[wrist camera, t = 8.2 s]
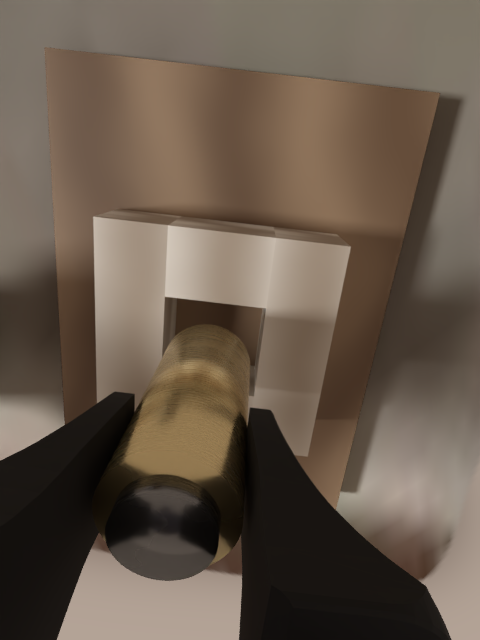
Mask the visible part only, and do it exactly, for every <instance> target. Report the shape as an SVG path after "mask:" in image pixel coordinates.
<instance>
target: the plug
mask: <svg viewBox="0 0 480 640" xmlns="http://www.w3.org/2000/svg"><path fill="white" fill-rule="evenodd" d="M249 380H250V358H249V354H248V352H247V349H246V347H245V346H244V344H243V343H242V341H241V340H240V339H239V338H238V337H237V336H236V335H234V334H233V333H232V332H230V331H229V330H227V329H224V328H222V327H219V326H215V325H207V324H203V325H195V326H192V327H189V328H186V329H184V330H182V331H181V332H179V333H178V334H177V335H176V336H175V337H174V338H173V339H172V340H171V342H170V343H169V345H168V347H167V349H166V351H165V353H164V355H163V357H162V359H161V361H160V363H159V365H158V367H157V369H156V371H155V373H154V375H153V377H152V379H151V381H150V383H149V385H148V387H147V389H146V390H145V392H144V394H143V396H142V398H141V400H140V402H139V404H138V406H137V408H136V410H135V412H134V414H133V416H132V418H131V420H130V422H129V424H128V426H127V428H126V430H125V432H124V434H123V436H122V438H121V440H120V442H119V444H118V446H117V448H116V450H115V452H114V454H113V456H112V458H111V460H110V462H109V464H108V466H107V468H106V470H105V472H104V474H103V476H102V478H101V480H100V482H99V484H98V486H97V488H96V490H95V493H94V496H93V500H92V512H93V518H94V522H95V524H96V527H97V529H98V531H99V533H100V534H101V536H102V537H103V539H104V540H105V541H106V543H107V546H108V548H109V550H110V552H111V553H112V555H113V556H114V557H115V558H116V560H117V561H118V562H120V564H122V565H123V566H124V567H126V568H127V569H129V570H130V571H132V572H134V573H136V574H139V575H141V576H144V577H147V578H151V579H156V580H165V581H171V580H181V579H185V578H189V577H192V576H194V575H196V574H198V573H200V572H202V571H203V570H204V569H206V568H207V567H208V566H209V565H211V564H213V563H215V562H217V561H218V560H220V559H221V558H223V557H224V556H225V555H227V554H228V553H229V552H230V551H231V550H232V548H233V547H234V546H235V544H236V543H237V541H238V540H239V537H240V535H241V532H242V528H243V515H244V492H245V470H246V442H247V425H248V403H249Z"/></svg>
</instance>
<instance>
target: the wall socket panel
mask: <svg viewBox="0 0 480 640" xmlns="http://www.w3.org/2000/svg"><path fill="white" fill-rule="evenodd" d="M45 65H46V84H47V102H48V121H49V139H50V158H51V177H52V195H53V214H54V232H55V251H56V269H57V288H58V307H59V325H60V344H61V362H62V381H63V400H64V418H65V425H66V424H67V423H69V422H71V421H72V420H73V419H75V418H76V417H78V416H79V415H81V414H82V413H84V412H85V411H87V410H88V409H90V408H91V407H93V406H94V405H96V404H97V403H98V402H100V401H101V400H103V399H104V398H106V397H107V396H108V395H110V394H111V393H113V392H124V393H132V394H135V410H136V408H137V406H138V404H139V402H140V400H141V398H142V396H143V394H144V392H145V390H146V389H147V387H148V385H149V383H150V381H151V379H152V377H153V375H154V373H155V371H156V369H157V367H158V365H159V363H160V361H161V359H162V357H163V355H164V353H165V351H166V349H167V347H168V345H169V343H170V342H171V340H172V339H173V338H174V337H175V336H176V335H177V334H178V333H179V332H181V331H182V330H184V329H186V328H189V327H192V326H195V325H203V324H207V325H215V326H219V327H222V328H224V329H227V330H229V331H230V332H232V333H233V334H234V335H236V336H237V337H238V338H239V339H240V340H241V341H242V343H243V344H244V346H245V347H246V349H247V352H248V354H249V358H250V380H249V403H248V418H249V411H250V407H251V408H260V409H268V410H271V411H272V412H273V414H274V417H275V419H276V421H277V424H278V426H279V428H280V430H281V432H282V434H283V436H284V438H285V440H286V441H287V443H288V445H289V447H290V448H291V450H292V452H293V453H294V455H295V457H296V459H297V460H298V462H299V463H300V465H301V466H302V468H303V469H304V471H305V472H306V474H307V475H308V477H309V478H310V479H311V481H312V482H313V483H314V485H315V486H316V487H317V489H318V490H319V491H320V493H321V494H322V495H323V496H324V497H325V499H326V500H327V501H328V502H329V503H330V505H331V506H332V507H333V508H334V509H335V510H336V506H337V502H338V498H339V494H340V490H341V486H342V482H343V478H344V474H345V470H346V466H347V462H348V458H349V454H350V450H351V447H352V443H353V439H354V435H355V431H356V427H357V423H358V419H359V415H360V411H361V407H362V403H363V399H364V395H365V391H366V387H367V383H368V379H369V375H370V371H371V367H372V363H373V359H374V355H375V351H376V347H377V343H378V339H379V335H380V331H381V327H382V323H383V319H384V315H385V311H386V307H387V303H388V299H389V295H390V291H391V287H392V283H393V279H394V275H395V271H396V267H397V263H398V259H399V255H400V251H401V247H402V243H403V239H404V235H405V231H406V227H407V223H408V219H409V215H410V211H411V207H412V203H413V199H414V195H415V191H416V187H417V183H418V179H419V175H420V171H421V167H422V163H423V159H424V155H425V151H426V147H427V143H428V140H429V136H430V132H431V128H432V124H433V120H434V116H435V112H436V108H437V104H438V100H439V96H440V93H435V92H427V91H418V90H409V89H401V88H392V87H383V86H375V85H366V84H357V83H349V82H340V81H331V80H323V79H314V78H306V77H297V76H288V75H280V74H271V73H262V72H254V71H245V70H236V69H228V68H219V67H210V66H202V65H193V64H184V63H176V62H167V61H158V60H150V59H141V58H133V57H124V56H115V55H107V54H98V53H89V52H81V51H72V50H63V49H55V48H46V47H45Z"/></svg>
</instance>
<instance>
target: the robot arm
mask: <svg viewBox="0 0 480 640" xmlns="http://www.w3.org/2000/svg"><path fill="white" fill-rule="evenodd" d="M134 412H135V394H132V393H124V392H113V393H111V394H110V395H108V396H107V397H106V398H104V399H103V400H101V401H100V402H98V403H97V404H96V405H94V406H93V407H91V408H90V409H88V410H87V411H85V412H84V413H82V414H81V415H79V416H78V417H76V418H75V419H73V420H72V421H71V422H69V423H67V424H66V425H64V426H63V427H61V428H59V429H58V430H56V431H54V432H53V433H51V434H49V435H48V436H46V437H44V438H43V439H41V440H39V441H38V442H36V443H34V444H32V445H31V446H29V447H27V448H25V449H23V450H21V451H19V452H17V453H15V454H13V455H11V456H9V457H7V458H5V459H3V460H1V461H0V640H57V637H58V634H59V631H60V628H61V626H62V623H63V620H64V617H65V614H66V612H67V609H68V606H69V603H70V600H71V597H72V595H73V592H74V589H75V587H76V584H77V582H78V579H79V576H80V573H81V571H82V568H83V566H84V563H85V561H86V558H87V556H88V554H89V552H90V550H91V548H92V545H93V543H94V541H95V539H96V537H97V535H98V533H99V531H98V529H97V527H96V524H95V522H94V518H93V512H92V500H93V496H94V493H95V490H96V488H97V486H98V484H99V482H100V480H101V478H102V476H103V474H104V472H105V470H106V468H107V466H108V464H109V462H110V460H111V458H112V456H113V454H114V452H115V450H116V448H117V446H118V444H119V442H120V440H121V438H122V436H123V434H124V432H125V430H126V428H127V426H128V424H129V422H130V420H131V418H132V416H133V414H134ZM241 543H242V599H241V617H240V634H239V640H451V638H450V636H449V633H448V630H447V628H446V625H445V623H444V621H443V619H442V617H441V615H440V612H439V610H438V608H437V607H436V605H435V603H434V601H433V599H432V598H431V595H430V593H429V592H428V589H427V587H426V586H425V585H424V584H422V583H421V582H419V581H418V580H417V579H415V578H414V577H413V576H411V575H410V574H409V573H407V572H406V571H405V570H403V569H402V568H400V567H399V566H398V565H396V564H395V563H394V562H392V561H391V560H390V559H388V558H387V557H386V556H385V555H383V554H382V553H381V552H380V551H379V550H378V549H376V548H375V547H374V546H373V545H372V544H370V543H369V542H368V541H367V540H366V539H365V538H364V537H363V536H361V535H360V534H359V533H358V532H357V531H356V530H355V529H354V528H353V527H352V526H351V525H350V524H349V523H348V522H347V521H346V520H345V519H344V518H343V517H342V516H341V515H340V514H339V513H338V512H337V511H336V510H335V509H334V508H333V507H332V506H331V505H330V503H329V502H328V501H327V500H326V499H325V497H324V496H323V495H322V494H321V493H320V491H319V490H318V489H317V487H316V486H315V485H314V483H313V482H312V481H311V479H310V478H309V477H308V475H307V474H306V472H305V471H304V469H303V468H302V466H301V465H300V463H299V462H298V460H297V459H296V457H295V455H294V453H293V452H292V450H291V448H290V447H289V445H288V443H287V441H286V440H285V438H284V436H283V434H282V432H281V430H280V428H279V426H278V424H277V421H276V419H275V417H274V414H273V412H272V411H271V410H268V409H260V408H251V407H250V411H249V418H248V425H247V442H246V470H245V492H244V515H243V528H242V532H241Z"/></svg>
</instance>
